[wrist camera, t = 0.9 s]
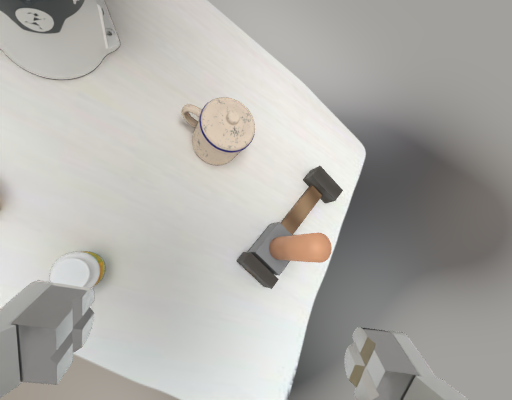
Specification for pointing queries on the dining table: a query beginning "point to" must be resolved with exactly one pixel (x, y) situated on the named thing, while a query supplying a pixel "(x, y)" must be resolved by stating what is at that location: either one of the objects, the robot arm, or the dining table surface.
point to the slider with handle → (289, 248)
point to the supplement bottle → (78, 269)
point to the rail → (295, 219)
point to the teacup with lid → (220, 129)
